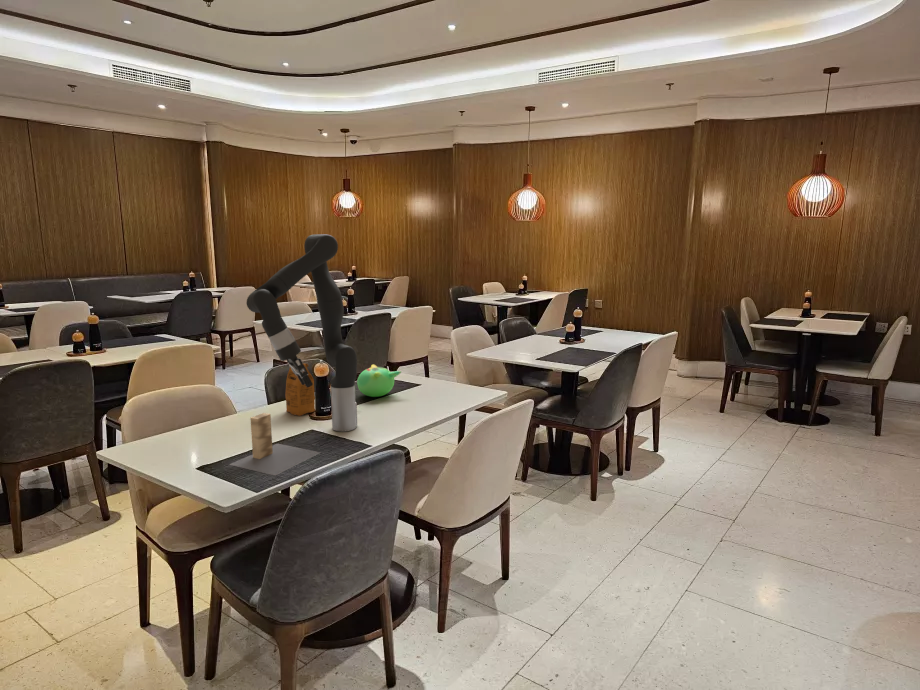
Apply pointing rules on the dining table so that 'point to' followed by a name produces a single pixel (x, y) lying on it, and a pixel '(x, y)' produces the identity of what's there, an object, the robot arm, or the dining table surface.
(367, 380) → the toy bird
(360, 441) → the dining table surface
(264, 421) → the oak card block
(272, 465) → the charcoal placemat
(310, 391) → the coffee package
